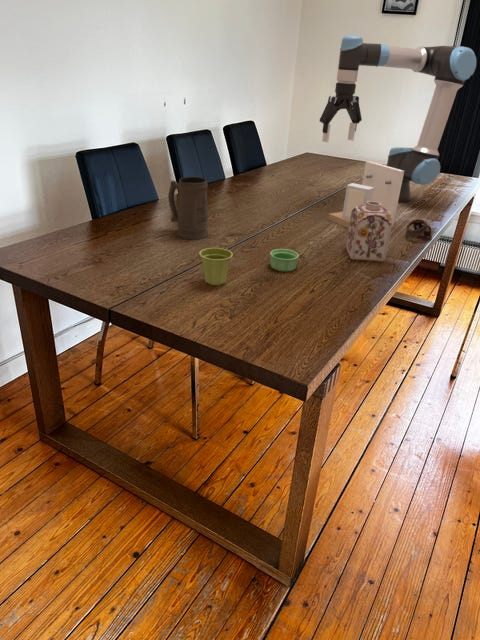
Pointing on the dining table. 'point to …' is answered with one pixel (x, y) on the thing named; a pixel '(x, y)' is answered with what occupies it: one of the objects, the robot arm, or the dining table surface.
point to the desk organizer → (378, 189)
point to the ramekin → (283, 259)
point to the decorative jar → (369, 232)
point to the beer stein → (190, 207)
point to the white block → (356, 198)
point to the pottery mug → (418, 229)
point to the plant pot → (215, 264)
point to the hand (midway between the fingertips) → (338, 141)
